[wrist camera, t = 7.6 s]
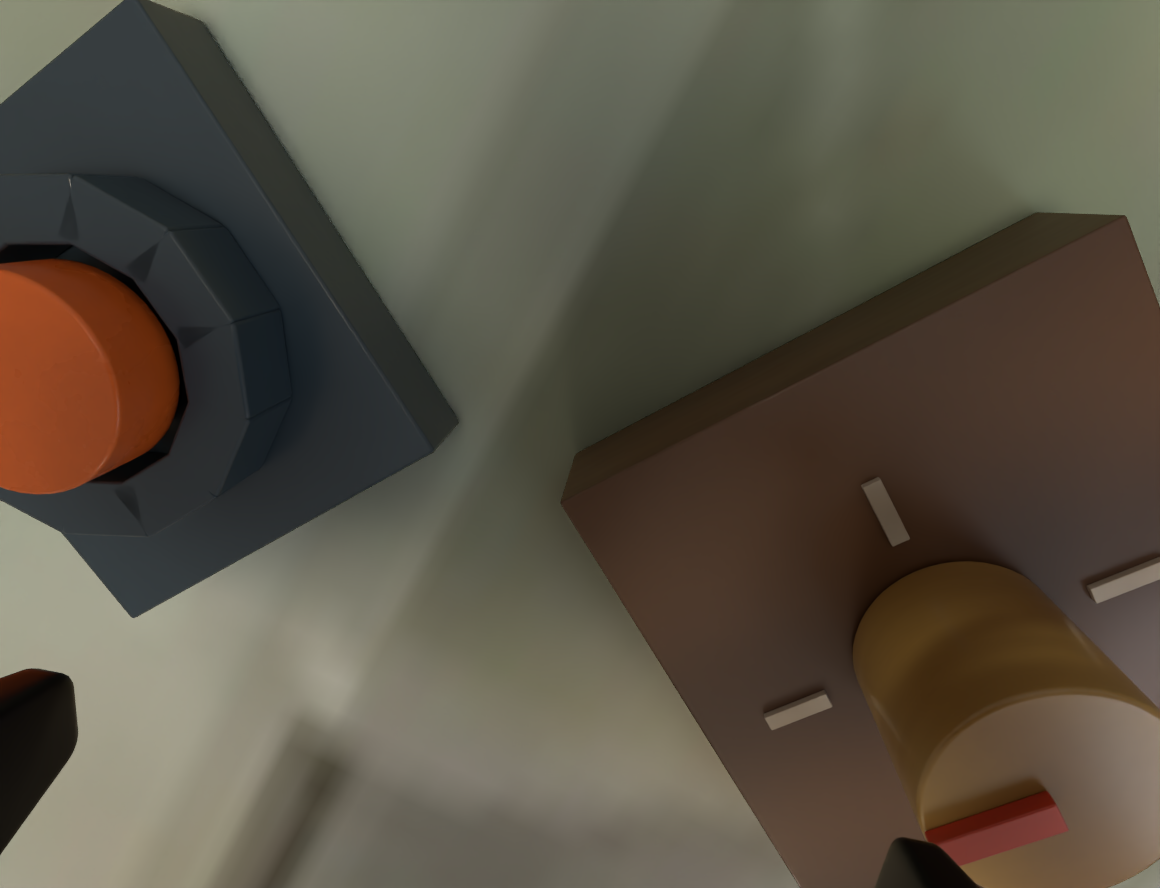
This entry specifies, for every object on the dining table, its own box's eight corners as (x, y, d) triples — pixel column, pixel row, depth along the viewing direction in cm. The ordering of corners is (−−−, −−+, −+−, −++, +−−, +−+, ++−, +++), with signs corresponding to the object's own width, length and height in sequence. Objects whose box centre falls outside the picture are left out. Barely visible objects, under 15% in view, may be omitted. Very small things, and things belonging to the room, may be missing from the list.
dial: (1015, 526, 14) (1165, 660, 10) (1088, 685, 15) (1253, 868, 11) (818, 610, 15) (880, 765, 11) (898, 755, 16) (984, 948, 12)
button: (222, 404, 14) (165, 432, 12) (78, 495, 15) (7, 532, 13) (86, 216, 13) (4, 219, 11) (-59, 325, 14) (-154, 342, 12)
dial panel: (1228, 693, 18) (1344, 792, 15) (808, 839, 20) (834, 948, 17) (1037, 211, 15) (1132, 213, 12) (574, 453, 18) (557, 506, 15)
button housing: (461, 422, 18) (407, 483, 14) (186, 575, 20) (75, 665, 16) (202, 19, 15) (54, -40, 11) (-76, 242, 17) (-279, 255, 14)
